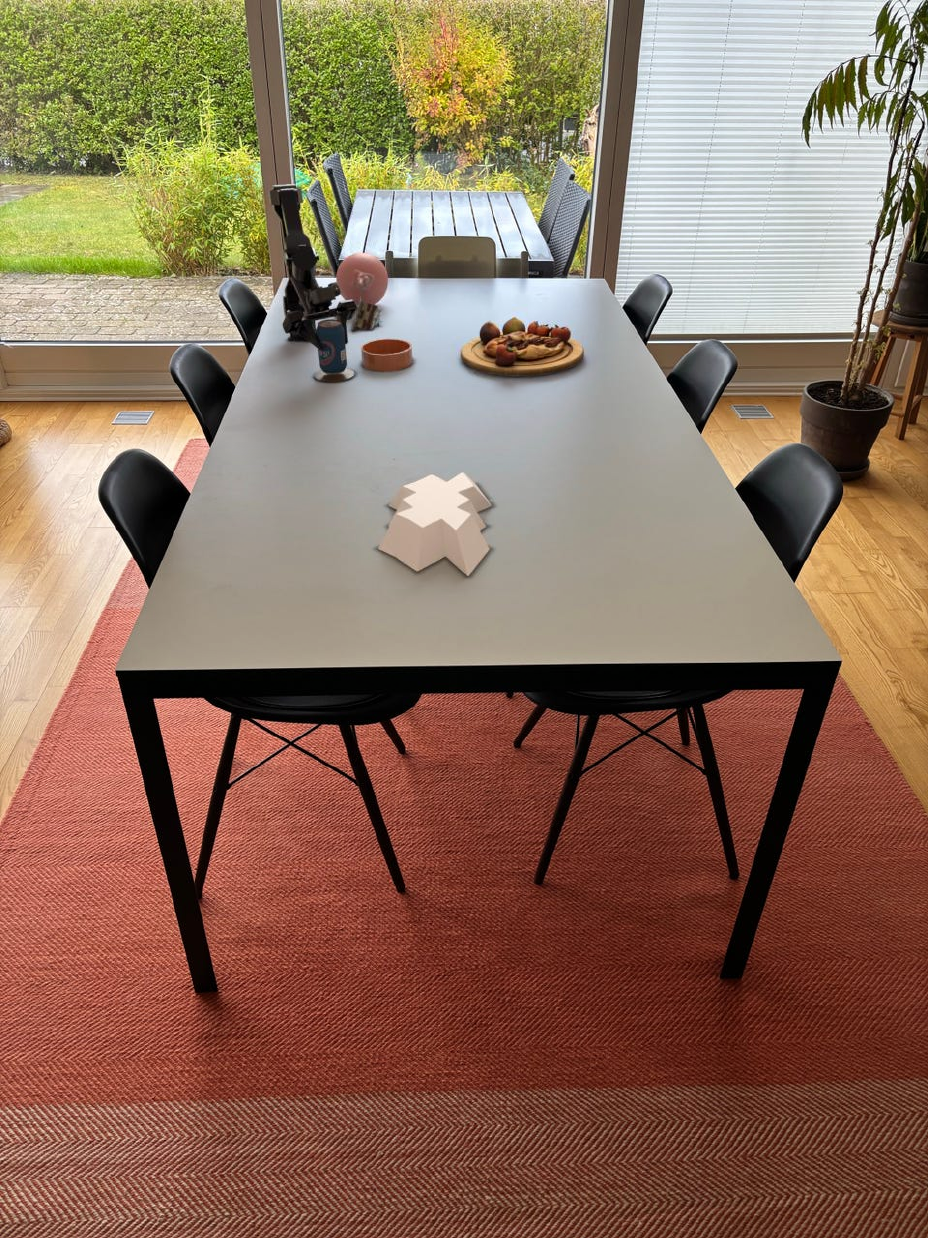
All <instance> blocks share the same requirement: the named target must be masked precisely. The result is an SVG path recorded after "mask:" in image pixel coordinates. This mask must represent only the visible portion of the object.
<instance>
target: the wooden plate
mask: <svg viewBox="0 0 928 1238" xmlns="http://www.w3.org/2000/svg"><path fill="white" fill-rule="evenodd" d="M571 335H572V332H571V330H570V328H568V327H567V326H562V327H559V326H558V324H554V327H553V326H551V327H549V323H547V324H540V325H539V321H538V320H536V321H533V322H530V323H529V324H528V326H527V329H526V325H525V324H524V322H523V321H522V320H520V319H519V318H517V317H516V316H513V317H511V318H510V319H508V320H507V321H505V323H504V324H503V326H502V328H501V330H500V328H499V327H498V325H496V324H495V322H493V321H491V320H489V321H487V322H485V323H483V325H482V326H481V327H480V329H479V336H478V337H476V338H475V337H474V338H473V339H471V340H469V341H468V342H466V343H465V344H464V345H463V346H462V347H461V350H460V358H461V361H462V362H463V363H464V364H465V365H467V366H468V367H470V368H471V369H474V370H476V371H479V372H482V373H486V374H490V375H498V376H506V377H535V376H545V375H550V374H554V373H559V372H562V371H565V370H568V369H570V368H573V367H574V366H576V365H578V364H579V363H580V362H581V361H582V360H583V358H584V355H585V350H584V347H583V345H582V344H581V343H580V342H579V341H578V340H576V339H574V338H573V337H571Z"/></svg>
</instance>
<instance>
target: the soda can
mask: <svg viewBox="0 0 928 1238" xmlns="http://www.w3.org/2000/svg"><path fill="white" fill-rule="evenodd" d="M316 335H317V337H318V339H319V341H320V343H321V346H322V350H319V349H318V348H317V355H318V364H319V368H320V370H322V371H323V372H324V373H326V374H339V373H342V372H344V371H345V369H346V368H347V367H348V357H347V356H348V355H347V347H346V345H347V344H345V333H344V328H343V326H342V325H341V321H339V320H335V318H334V319H332V318H331V319H330V318H327V319H321V320H319V321H317V325H316Z"/></svg>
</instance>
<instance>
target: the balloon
mask: <svg viewBox="0 0 928 1238" xmlns="http://www.w3.org/2000/svg"><path fill="white" fill-rule="evenodd" d="M335 276H336V278H335V279H336V281H335V282H337V284H338V286H339V288H340V291H341V294H340V296H341V297H342V298H343V299H344V301H345V300H350V299H352V300H354V301H355V303H356V305H357V307H358V304H359V301H360V297H361V299H362V300H363V302H366V303H369V304H373V305H376V304H377V303H379V302H380V301H381V300H382V299H383V298H384V296H385V294H386V292H387V290H388V286H389V275H388V272H387V269H386V267H385V265H384V264H383V263H382V261H381V260H380V259H379V258H378V257H376V256H375V255H373V254H371V253H368V252H356V253H355V252H354V253H352V254H350V255H348V256H347V257H345V258H344V259H343V260H342V262H341V263H340V264H339V266H338V268H337V272H336V275H335Z"/></svg>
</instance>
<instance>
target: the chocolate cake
mask: <svg viewBox="0 0 928 1238" xmlns="http://www.w3.org/2000/svg"><path fill="white" fill-rule="evenodd" d="M357 307H358V308H357V310H356V312H355V315H354V316H355V317H354V320H353V324H352V329H351V331H354V330H356V329H357V328H359V329H365V330H370V331H371V330H372V329H373V328H374V327H379V326H380V323H379V322H380V320H381V315H382V310H381V309H380V306H379V305H376V304H374V305H373V304H369V303H366V302H363V300H362V299H361V297H360V301H359V304H358V306H357Z"/></svg>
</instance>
